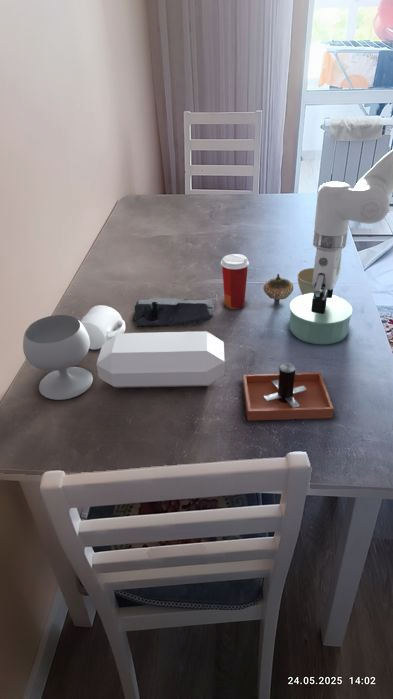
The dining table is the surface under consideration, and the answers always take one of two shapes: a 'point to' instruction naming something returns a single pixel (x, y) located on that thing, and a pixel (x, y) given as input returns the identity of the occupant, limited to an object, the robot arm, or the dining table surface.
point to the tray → (310, 402)
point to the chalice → (58, 355)
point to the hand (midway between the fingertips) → (321, 304)
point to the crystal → (161, 359)
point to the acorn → (278, 289)
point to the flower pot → (306, 281)
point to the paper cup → (234, 279)
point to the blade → (286, 387)
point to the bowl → (318, 331)
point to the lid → (333, 314)
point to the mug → (102, 325)
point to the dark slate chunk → (172, 311)
